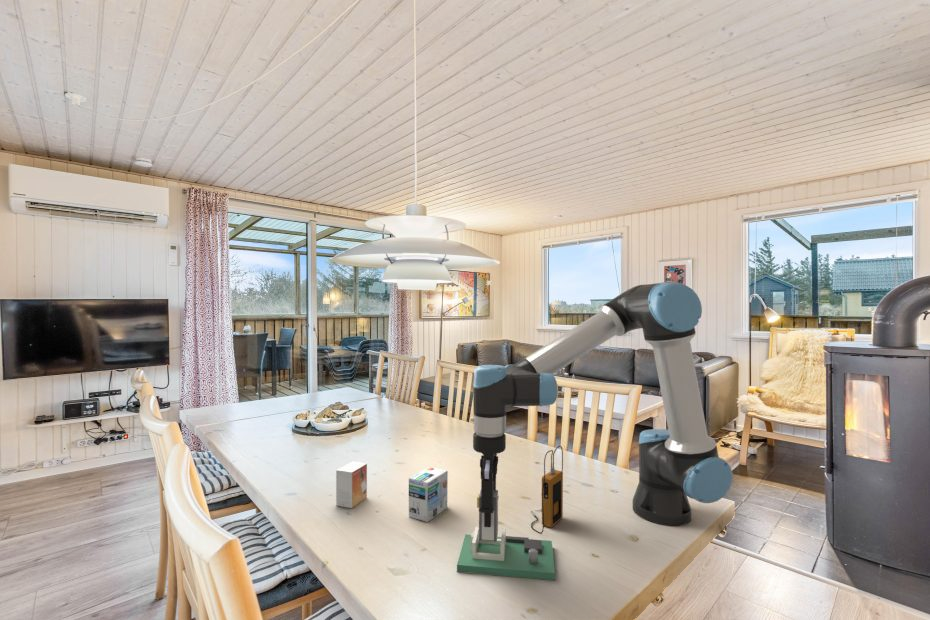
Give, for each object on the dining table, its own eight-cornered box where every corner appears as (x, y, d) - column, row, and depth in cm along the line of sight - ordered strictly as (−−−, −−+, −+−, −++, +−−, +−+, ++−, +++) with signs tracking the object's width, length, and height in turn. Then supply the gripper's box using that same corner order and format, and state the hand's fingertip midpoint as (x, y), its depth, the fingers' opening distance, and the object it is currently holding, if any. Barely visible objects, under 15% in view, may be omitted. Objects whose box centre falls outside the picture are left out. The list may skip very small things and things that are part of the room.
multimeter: (537, 504, 128) (537, 436, 128) (568, 513, 122) (568, 442, 122) (510, 523, 117) (510, 448, 117) (544, 535, 111) (544, 456, 111)
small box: (351, 509, 125) (351, 472, 125) (335, 506, 127) (335, 469, 127) (367, 497, 132) (367, 463, 132) (351, 495, 134) (351, 460, 134)
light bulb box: (427, 523, 117) (427, 482, 117) (407, 517, 120) (407, 478, 120) (448, 507, 126) (448, 470, 126) (429, 502, 130) (429, 465, 130)
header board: (551, 547, 105) (551, 526, 105) (554, 580, 92) (554, 556, 92) (465, 540, 108) (465, 520, 108) (456, 571, 95) (456, 548, 95)
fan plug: (497, 532, 102) (498, 490, 102) (496, 541, 98) (496, 497, 98) (478, 531, 103) (478, 488, 103) (476, 540, 99) (476, 496, 99)
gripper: (477, 422, 110) (476, 515, 110) (468, 443, 93) (467, 552, 93) (507, 423, 109) (506, 517, 109) (503, 444, 92) (502, 555, 92)
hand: (488, 533), depth 101 cm, fingers closed on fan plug, 4 cm apart
